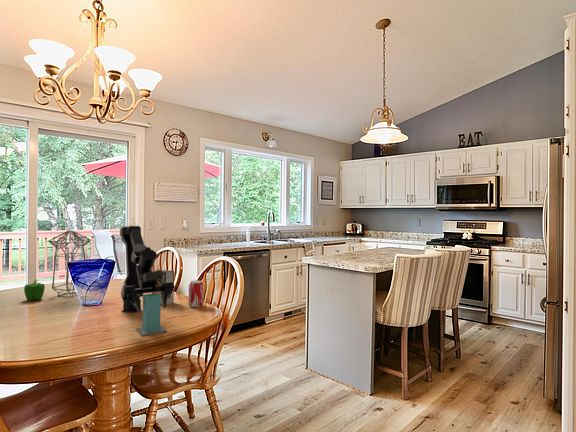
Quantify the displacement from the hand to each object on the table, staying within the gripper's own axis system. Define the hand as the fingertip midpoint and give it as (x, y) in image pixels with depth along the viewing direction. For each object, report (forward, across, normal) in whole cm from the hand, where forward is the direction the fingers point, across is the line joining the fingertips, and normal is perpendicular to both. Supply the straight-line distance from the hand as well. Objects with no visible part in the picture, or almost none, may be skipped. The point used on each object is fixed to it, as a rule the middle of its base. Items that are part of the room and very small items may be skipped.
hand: (152, 309), depth 134 cm
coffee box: (-23, +16, +36) cm, 46 cm away
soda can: (-13, +28, +25) cm, 40 cm away
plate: (+5, 0, +7) cm, 9 cm away
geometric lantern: (-52, -21, +64) cm, 85 cm away
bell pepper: (-51, -36, +63) cm, 89 cm away
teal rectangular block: (+5, 0, +7) cm, 8 cm away
